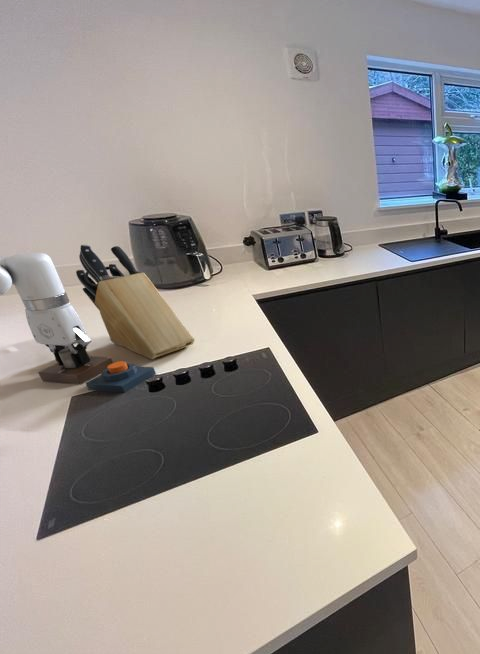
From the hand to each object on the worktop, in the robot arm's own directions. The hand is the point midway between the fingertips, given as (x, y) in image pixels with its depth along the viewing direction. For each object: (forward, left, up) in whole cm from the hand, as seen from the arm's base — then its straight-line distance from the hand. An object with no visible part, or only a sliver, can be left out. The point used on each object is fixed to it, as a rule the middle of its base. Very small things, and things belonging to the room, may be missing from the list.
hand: (74, 363), depth 108 cm
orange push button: (+15, -2, 0) cm, 15 cm away
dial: (0, 0, 0) cm, 0 cm away
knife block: (+1, +19, -4) cm, 19 cm away
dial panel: (0, 0, -4) cm, 4 cm away
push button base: (+15, -2, -4) cm, 16 cm away
